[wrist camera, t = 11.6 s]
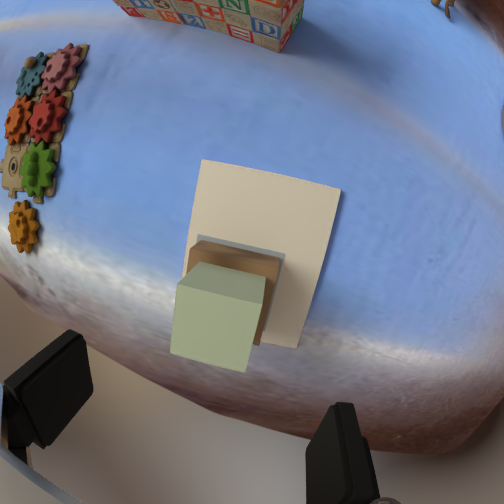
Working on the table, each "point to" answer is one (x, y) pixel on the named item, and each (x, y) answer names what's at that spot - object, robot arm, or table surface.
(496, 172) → the table surface
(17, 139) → the gear puzzle
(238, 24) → the stack of blocks
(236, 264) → the walnut base block
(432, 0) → the lion figurine
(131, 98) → the table surface
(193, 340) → the sage block
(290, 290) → the cream flat board
